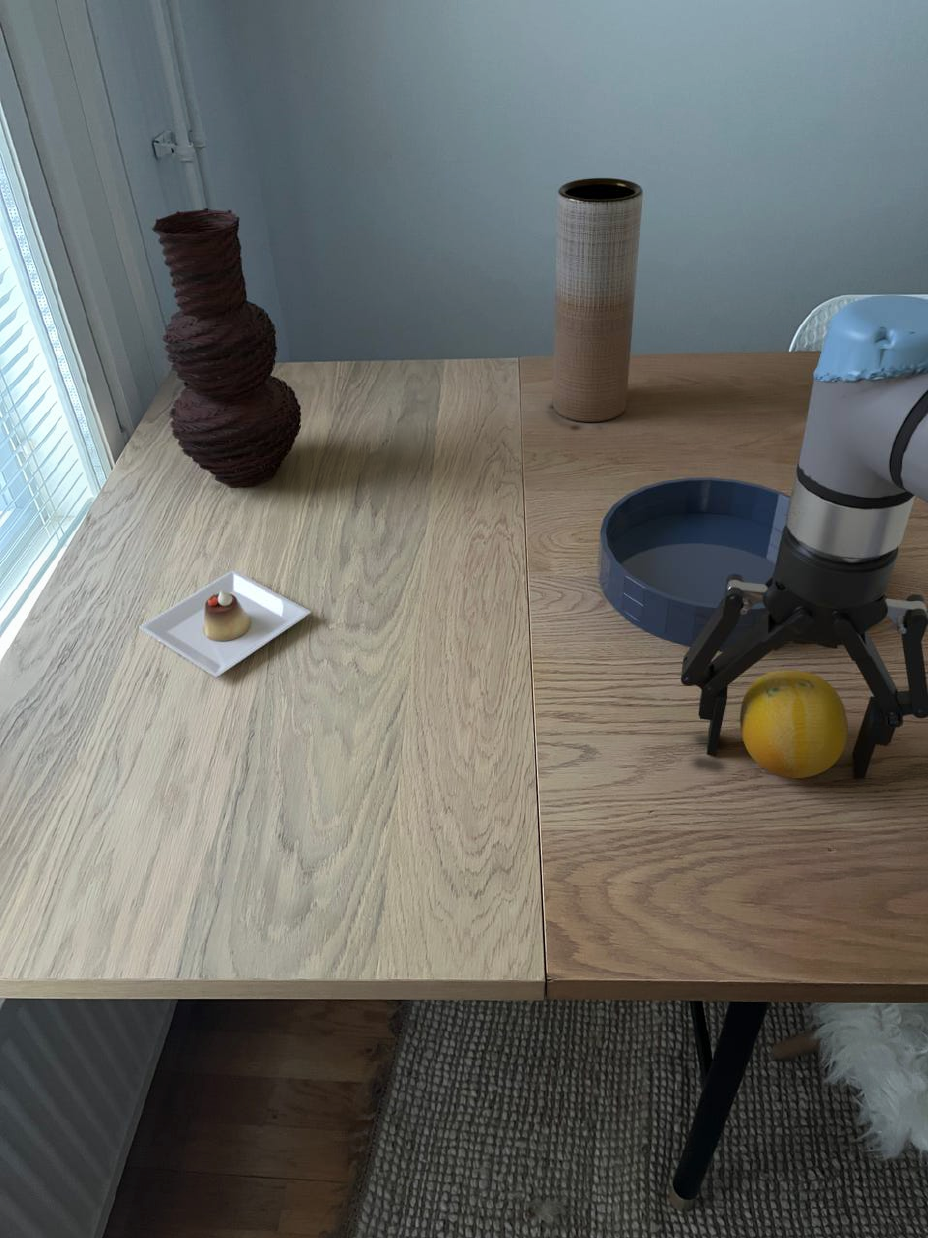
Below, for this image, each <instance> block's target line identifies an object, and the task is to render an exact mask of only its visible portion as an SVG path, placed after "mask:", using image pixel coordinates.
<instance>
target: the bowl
mask: <svg viewBox="0 0 928 1238" xmlns="http://www.w3.org/2000/svg"><path fill="white" fill-rule="evenodd" d="M790 497H791V495H788V494H786V493H785V492H782V491H780V490H777V489H775V488H774V489H773V488H771V487H767V486H765V485H762V484H758V483H753V482H748V481H744V480H739V479H733V478H732V479H731V478H724V477H723V478H722V477H712V476H711V477H708V476H706V477H705V476H703V477H683V478H682V477H681V478H675V479H669V480H662V481H658V482H655V483H652V484H648V485H644V486H642V487H640V488H638V489H635V490H633V491H631V492H629V493H627V494H626V495H624V496H623V497H621V498H620V499H618V501H617V502H615V503H613V505H612V506H611V507H610V508H609V510H608V511H607V512H606V514H605V515H604V517H603V519H602V523H601V527H600V529H599V530H600V531H599V542H598V557H597V559H598V560H597V568H598V569H597V575H598V583H599V586H600V589H601V591H602V593H603V595H604V596H605V599H606V600H607V601H608V602H609V604H610V605H611V607H612V608H613V609H614V610H615V611H617V612H618V613H619V614H620V616H621V617H623V618H624V619H625V620H627V621H628V622H630V623H631V624H632V625H634V626H636V627H638V628H639V629H641V630H643V631H644V632H647V633H649V634H651V635H653V636H655V637H658V638H660V639H663V640H665V641H669V642H671V643H675V644H679V645H682V646H686V647H689V648H690V647H691V646H692V644H693V643H694V641H695V640H696V638H697V637H698V635H699V634H700V632H701V631H702V629H703V628H704V626H705V625H706V623H707V622H708V620H709V619H710V617H711V616H712V614H713V613H714V611H715V610H716V608H717V607H718V605H719V604H720V602H721V601H722V599H723V598H724V593H725V587H726V580H727V577H728V576H729V575H731V574H739V575H740V576H742V578H743V582H746V583H755V584H765V583H766V582H767V581H768V580H769V579H770V578H771V577H772V575H773V573H774V570H775V565H776V560H777V556H778V551H779V546H780V542H781V537H782V532H783V529H784V526H785V525H786V515H787V510H788V506H789V501H790ZM766 612H767V609H766V608H765V606H764V604H763V603H756V604H754V605H753V607H752V608H751V610H750V611H748V613H747V614H745V615H742V614H740V617H739V620H738V622H737V624H736V626H735V628H734V629H733V630H732V632H731V633H730V635H729V636H728V638H727V639H726V641H725V642H724V643H723V645H722V646H721V648H720V649H719V651H721V652H724V651H725V650H726V649H727V648H728V647H730V646H731V645H732V644H733V643H735V642H736V641H737V640H738V639H739V638H741V637H742V636H743V635H744V634H745V633H747V632H748V631H749V630H750V629H751V628H753V627H754V626H755V625H756V624H757V623H759V622H760V620H761V619H762V617H763V615H764V614H765V613H766Z"/></svg>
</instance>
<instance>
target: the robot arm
mask: <svg viewBox="0 0 928 1238" xmlns="http://www.w3.org/2000/svg"><path fill="white" fill-rule="evenodd" d="M820 352H821V353H820V355H819V359H818V362H817V366H816V367H815V369H814V370H813V376H812V377H813V382H812V388H811V393H810V400H809V406H808V412H807V418H806V424H805V429H804V435H803V440H802V446H801V450H800V453H799V456H798V462H797V465H796V471H795V475H794V480H793V483H792V489H791V494H790V496H791V497H790V501H789V506H788V510H787V515H786V525H785V526H784V529H783V532H782V537H781V542H780V546H779V551H778V556H777V560H776V565H775V570H774V573H773V575H772V577H771V578H770V579H769V580H768V581H767V582H766V583H765V584H755V583H746V582H743V578H742V576H740V575H739V574H731V575H729V576H728V577H727V580H726V587H725V593H724V598H723V599H722V601H721V602H720V604H719V605H718V607H717V608H716V610H715V611H714V613H713V614H712V616H711V617H710V619H709V620H708V622H707V623H706V625H705V626H704V628H703V629H702V631H701V632H700V634H699V635H698V637H697V638H696V640H695V641H694V643H693V644H692V646H691V647H690V646H689V649H688V650H687V652H686V654H685V655H684V656H683V658H682V664H681V665H682V666H681V674H680V675H681V676H680V682H681V683H682V685H684V686H688V687H692V686H696V687H698V688H699V689H700V690H701V691H700V696H699V702H698V703H699V704H698V717H699V719H700V720H704V721H705V720H706V721H709V725H708V731H707V732H708V733H707V743H706V745H707V746H706V756H711V757H717V753H718V749H719V743H720V738H721V732H722V727H723V721H724V717H725V712H726V707H727V702H728V701H727V700H728V688H729V685H730V684H731V683H733V682H734V681H735V680H736V679H738V678H739V677H740V676H741V675H743V674H744V673H745V672H746V671H748V670H749V669H751V667H753V666H755V664H757V663H758V662H759V661H760V660H762V659H763V658H764V657H765V656H767V655H769V653H770V652H772V651H774V652H777V651H778V650H780V649H781V648H782V647H784V646H785V645H786V644H788V643H789V642H790V641H792V644H796V645H817V646H821V647H824V648H826V649H827V648H828V649H835V650H837V649H838V647H840V646H844V648H845V650H846V652H847V654H848V656H849V657H850V659H851V660H852V662H855V664H856V666H857V668H858V671H859V673H860V674H861V675H862V677H863V679H864V681H865V683H866V685H867V687H868V688H869V690H870V692H871V693H872V695H873V696H872V695H871V696H870V697H869V699H868V704H867V706H866V709H865V712H864V715H863V719H862V721H861V724H860V728H859V731H858V734H857V737H856V740H855V743H854V746H853V749H852V753H851V755H852V767H853V769H852V770H853V778H854V779H859V780H865V777H866V775H867V772H868V769H869V766H870V763H871V760H872V757H873V754H874V752H875V749H876V746H883V747H887V746H888V745H890V743H891V742H892V739H893V736H894V734H895V732H896V729H898V728H901V727H902V726H903V725H904V717H906V716H910V715H911V716H913V717H914V718H917V719H925V718H928V682H927V674H926V668H925V659H924V649H923V643H922V641H923V638H924V635H925V633H926V630H927V628H928V611H927V606H926V601H925V598H924V596H923V595H921V594H917V593H916V594H911V595H909V596H908V597H907V598H906V599H905V600H902V599H895V598H888V597H887V594H886V593H887V591H888V587H889V584H890V581H891V578H892V574H893V570H894V567H895V564H896V562H897V558H898V554H899V546H900V544H901V543H902V542H903V538H904V535H905V532H906V528H907V525H908V522H909V518H910V515H911V512H912V509H913V505H914V502H915V500H916V499H915V498H916V497H917V498H919V499H920V500H921V501H923V502H926V503H927V504H928V299H927V298H922V297H919V296H918V297H917V296H911V295H899V294H898V295H897V294H883V295H872V296H867V297H864V298H860V299H857V300H853V301H850V302H849V303H847V304H845V305H844V306H842V307H840V308H839V309H838V310H837V311H836V312H835V314H834V315H833V316H832V318H831V320H830V322H829V324H828V328H827V331H826V335H825V338H824V341H823V345H822V347H821V351H820ZM756 603H763V604H764V606H765V608H766V609H767V612H766V613H765V614H764V615H763V617H762V619H761V620H760V622H759V623H757V624H756V625H755V626H754V627H753V628H751V629H750V630H749V631H748V632H747V633H745V634H744V635H743V636H742V637H741V638H739V639H738V640H737V641H736V642H735V643H733V644H732V645H731V646H730V647H728V648H727V649H726V650H725V651H721V653H720V654H719V655H718V656H716V655H717V653H719V651H720V650H719V649H720V648H721V646H722V645H723V643H724V642H725V641H726V639H727V638H728V636H729V635H730V633H731V632H732V630H733V629H734V628H735V626H736V624H737V622H738V620H739V617H740V614H742V615H745V614H747V613H748V611H750V610H751V608H752V607H753V605H754V604H756ZM885 618H887V619H890V621H891V624H892V628H893V629H894V630H895V631H897V632H898V634H899V635H900V637H901V642H902V648H903V649H902V652H903V657H904V663H905V671H906V679H907V685H908V690H899V689H898V686H897V685H896V684H895V681H894V679H893V677H892V676H891V674H890V672H889V670H888V669H887V667H886V665H885V663H884V661H883V659H882V656H881V655H880V653H879V651H878V650H877V648H876V646H875V644H874V641H873V640H872V639H871V637H870V634H869V630H871V629H872V628H873V627H875V626H876V625H878V624H879V623H881V622H883V621H884V620H885Z"/></svg>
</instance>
